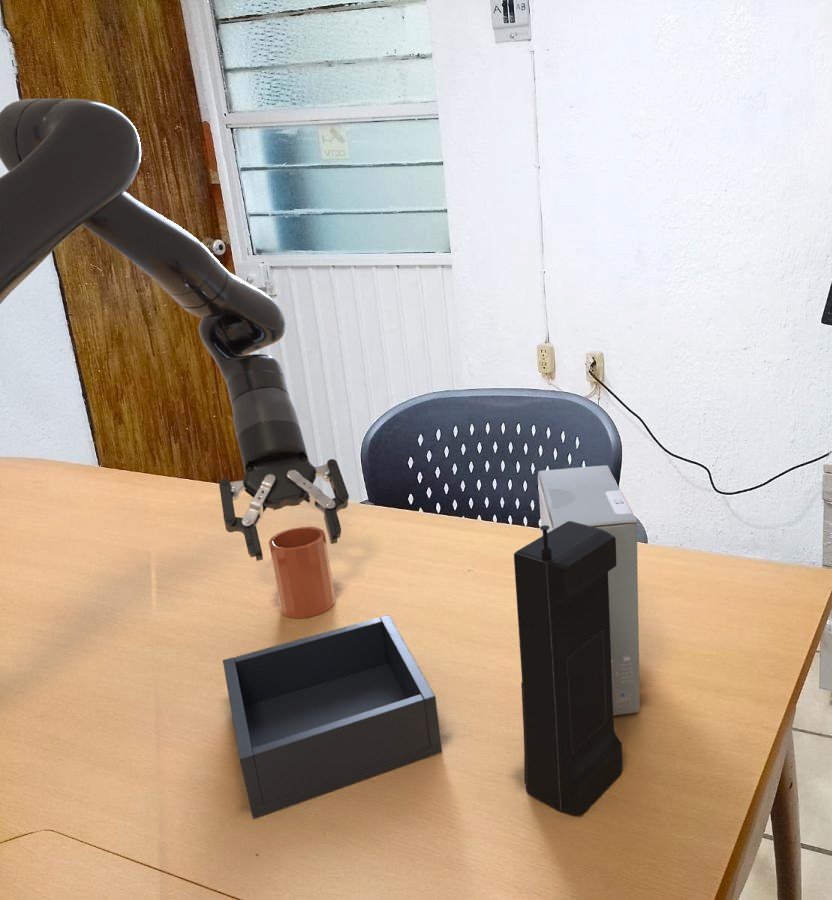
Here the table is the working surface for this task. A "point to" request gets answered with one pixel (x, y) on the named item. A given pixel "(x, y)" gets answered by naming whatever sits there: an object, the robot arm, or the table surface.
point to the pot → (302, 571)
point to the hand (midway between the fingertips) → (297, 549)
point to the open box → (328, 713)
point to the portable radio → (567, 666)
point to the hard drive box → (604, 507)
